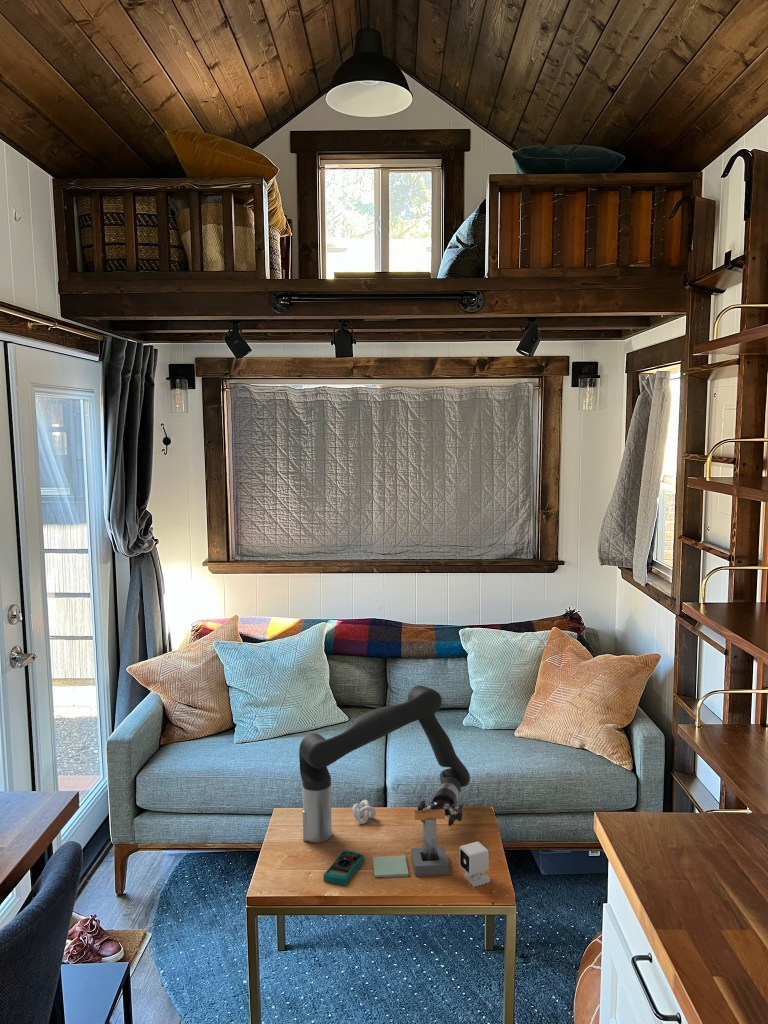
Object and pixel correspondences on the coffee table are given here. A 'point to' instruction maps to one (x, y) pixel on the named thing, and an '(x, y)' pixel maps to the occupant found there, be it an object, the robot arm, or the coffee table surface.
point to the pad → (390, 866)
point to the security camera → (474, 863)
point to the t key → (429, 831)
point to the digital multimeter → (343, 867)
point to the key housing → (429, 863)
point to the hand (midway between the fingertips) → (436, 821)
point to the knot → (363, 811)
